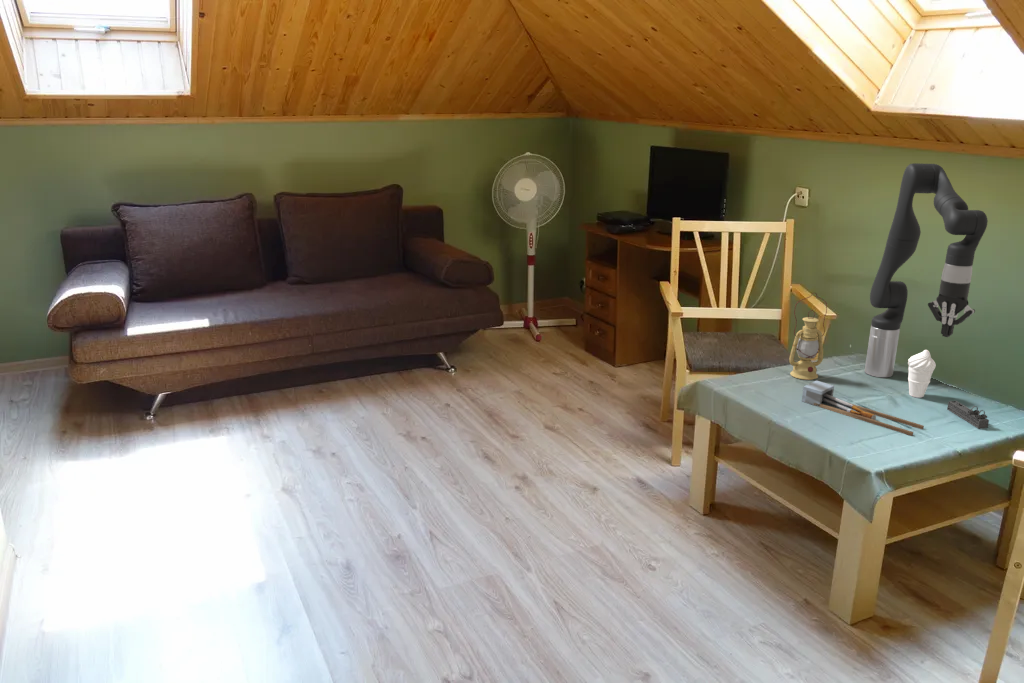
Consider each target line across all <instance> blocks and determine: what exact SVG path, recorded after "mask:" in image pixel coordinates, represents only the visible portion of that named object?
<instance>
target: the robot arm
mask: <svg viewBox="0 0 1024 683" xmlns="http://www.w3.org/2000/svg"><path fill="white" fill-rule="evenodd" d="M899 188H900V189H899V193H898V198H897V204H896V208H895V212H894V215H893V219H892V223H891V226H890V229H889V232H888V236H887V239H886V242H885V243H886V244H885V247H884V252H883V255H882V258H881V261H880V265H879V268H878V269H877V272H876V275H875V278H874V280H873V283H872V285H871V288H870V294H869V301H870V305H871V306H872V307H873V308H876V309H886V310H884V311H883V312H882V313H880V314H877V315H874V316H873V317H872V318H871V325H870V330H869V338H868V344H867V346H868V347H867V351H866V359H865V365H864V373H865V374H867V375H869V376H871V377H872V376H873V377H877V378H890V377H892V376H893V375H894V370H895V363H896V358H897V350H898V344H899V337H900V332H901V324H902V322H903V320H904V316H905V310H906V306H907V301H908V287H907V284H906V283H905V282H904V281H898V280H897V281H895V280H893V281H891V280H892V279H893V277H894V275H895V273H896V272H897V271H898V270H899V268H901V267H902V266H903V265H904V264H905V263H906V262H907V261H908V260H910V258H911V257H912V256H914V253H915V252H916V250H917V247H918V244H919V241H920V237H921V233H922V232H921V227H920V224H919V221H918V218H917V216H916V214H915V212H914V207H913V201H914V196H915V194H935V195H934V197H933V207H934V208H935V210H936V212H938V214H939V215H940V216H941V217H942V219H943V223H944V229H945V231H946V232H947V233H948V234H950V235H954V236H965V237H964V238H963V239H962V240H959V241H956V242H952V243H950V244H949V245H948V246H947V249H946V255H945V261H944V266H943V269H942V273H941V279H940V285H939V290H938V291H939V292H938V295H937V297H936V299H935V300H933V301H930V302H928V303H927V306H928V308H929V310H930V312H931V313H932V315H933V317H934V318H935V321H936V322H940V323H941V328H940V334H941V335H942V337H944V338H950V336H952V335H953V333H954V329H955V325H956V326H957V325H960V324H962V323H963V322H964V321H966V320H967V319H968V318H969V317H971V316H972V315H973V314H975V312H976V310H975V309H974V308H971V306H969V301H968V298H969V293H970V292H969V291H970V286H971V281H972V276H973V264H974V259H975V253H976V250H977V249H978V245H979V244H980V242H981V239H982V238H983V236H984V234H985V232H986V230H987V228H988V222H989V221H988V216H987V214H986V213H985V212H984V211H983V210H979V209H969V207H968V204H967V203H966V201H965V200H964V199H963V198H962V197H961V196H960V195H959V194H958V193H957V192H956V190H955V189H954V186H953V185H952V182H951V181H950V179H949V177H948V175H947V173H946V171H945V169H944V168H943V167H942V165H940V164H937V163H918V162H917V163H915V162H914V163H910V164H908V165H907V166H906V167H905V169H904V171H903V175H902V179H901V182H900V187H899ZM962 311H963V314H962V315H961V316H960V317H959V318H958V316H959V313H961V312H962Z"/></svg>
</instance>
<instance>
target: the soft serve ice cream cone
mask: <svg viewBox="0 0 1024 683" xmlns="http://www.w3.org/2000/svg"><path fill="white" fill-rule="evenodd" d="M907 361H908V362H907V365H908V374H907V375H908V377H907V380H908V391H909V392H908V394H909V396H911V397H913V398H918V399H919V398H924V396H925V394H926V391H927V389H928V387H929V384H930V383H931V378H932V375H933V372H934V371H935V369H936V366H937V365H936V362H935V360H934V359H933V358H932V356H931V353H930V351H929V350H928V349H924V350H923V351H921V352H919V353H916V354H914V355H911V356H910V358H908V360H907Z"/></svg>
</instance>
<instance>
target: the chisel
mask: <svg viewBox="0 0 1024 683" xmlns="http://www.w3.org/2000/svg"><path fill="white" fill-rule="evenodd" d="M822 396H823V397H824V398H823V397H822V402H823V403H825V404H826V405H828V406H831V407H834V408H837V409H841V410H844V411H847V412H850V413H853V414H857V415H860V416H863V417H866V418H870V419H873V420H876V419H877V415H874V414H871V413H868V412H864V411H863V410H861V409H859V408H857V407H856V406H854V405H855V404H854V405H852V404H853V403H851V404H850V402H847V401H845V400H843V399H839V398H837V397H835V396H834V395H833V396H831V395H828V394H826V393H824V394H823V395H822ZM826 398H827V399H826ZM828 399H829V400H828ZM830 400H831V401H830ZM833 401H834V402H833ZM835 402H836V403H835Z"/></svg>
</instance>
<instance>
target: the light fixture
mask: <svg viewBox="0 0 1024 683" xmlns="http://www.w3.org/2000/svg"><path fill="white" fill-rule="evenodd" d="M975 407H976V409H974V408H975ZM973 409H974V410H973ZM946 411H949V412H951V413H952V414H954V415H955V416H956V417H958V418H960V419H962V420H964V421H965V422H967V423H968V424H970V425H972V426H973V427H975V428H977V429H978V430H981V429H988V426H989V421H990V420H989V419H988V415H987V414H986V412H985V410H983V409H980V410H979V408H978V406H977V405H973V406H972V407H971V408H969V407H968V406H966V405H964V404H963V403H961V402H959V401H958V400H949V401H948V402H947V409H946ZM981 412H983V413H982V414H981Z"/></svg>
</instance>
